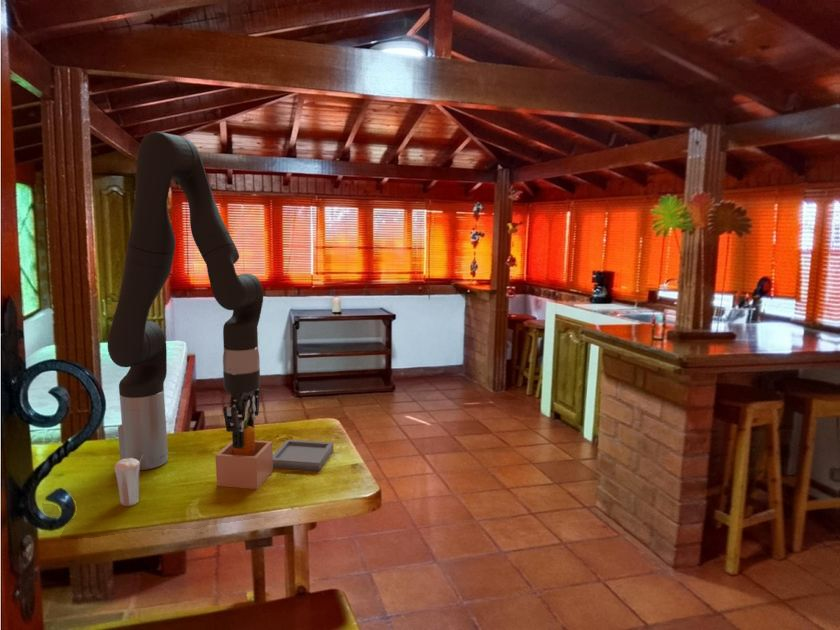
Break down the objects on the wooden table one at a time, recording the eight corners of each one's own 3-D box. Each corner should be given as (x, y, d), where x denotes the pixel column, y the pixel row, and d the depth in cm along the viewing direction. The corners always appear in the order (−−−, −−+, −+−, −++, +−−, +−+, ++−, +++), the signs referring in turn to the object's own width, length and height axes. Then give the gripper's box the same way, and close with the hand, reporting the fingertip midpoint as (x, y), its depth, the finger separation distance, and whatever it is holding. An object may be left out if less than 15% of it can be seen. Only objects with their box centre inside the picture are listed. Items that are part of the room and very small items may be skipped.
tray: (268, 467, 135) (268, 459, 135) (286, 447, 147) (286, 439, 147) (319, 471, 134) (319, 462, 134) (333, 450, 146) (333, 442, 145)
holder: (216, 485, 126) (215, 455, 125) (235, 467, 135) (234, 439, 134) (257, 489, 125) (256, 458, 124) (273, 470, 134) (272, 441, 133)
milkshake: (141, 507, 116) (138, 460, 115) (113, 508, 116) (109, 460, 114) (150, 496, 121) (146, 451, 119) (123, 497, 120) (119, 451, 119)
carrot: (249, 481, 127) (247, 416, 124) (228, 479, 128) (226, 413, 125) (260, 472, 132) (258, 408, 129) (240, 469, 133) (238, 406, 130)
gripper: (239, 358, 133) (241, 429, 136) (209, 375, 119) (212, 454, 122) (270, 360, 132) (272, 431, 135) (244, 377, 118) (246, 457, 121)
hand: (243, 442), depth 128 cm, fingers closed on carrot, 5 cm apart
